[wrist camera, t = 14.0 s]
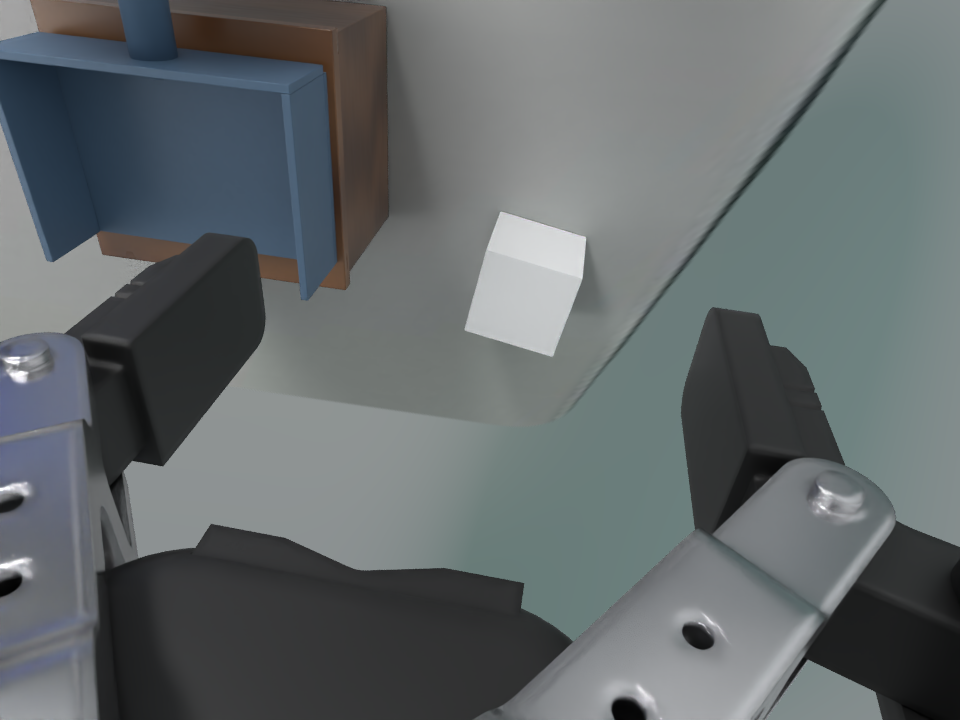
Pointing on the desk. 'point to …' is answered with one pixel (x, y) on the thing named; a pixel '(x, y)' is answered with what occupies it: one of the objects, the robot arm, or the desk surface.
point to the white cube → (527, 284)
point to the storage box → (291, 37)
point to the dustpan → (169, 142)
